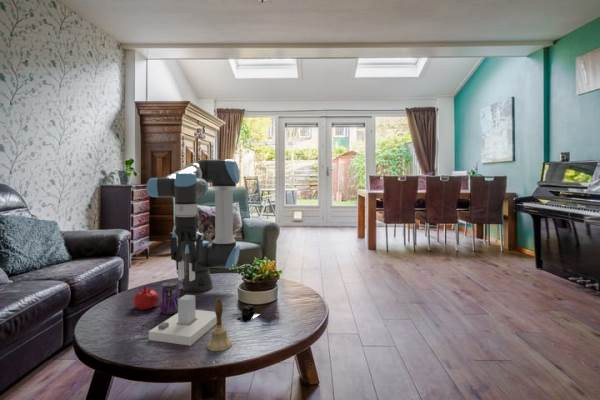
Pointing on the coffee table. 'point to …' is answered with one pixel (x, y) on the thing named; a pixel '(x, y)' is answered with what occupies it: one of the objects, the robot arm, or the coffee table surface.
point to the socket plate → (183, 329)
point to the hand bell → (219, 332)
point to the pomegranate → (145, 299)
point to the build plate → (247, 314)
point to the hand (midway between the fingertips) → (186, 279)
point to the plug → (186, 310)
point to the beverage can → (169, 297)
